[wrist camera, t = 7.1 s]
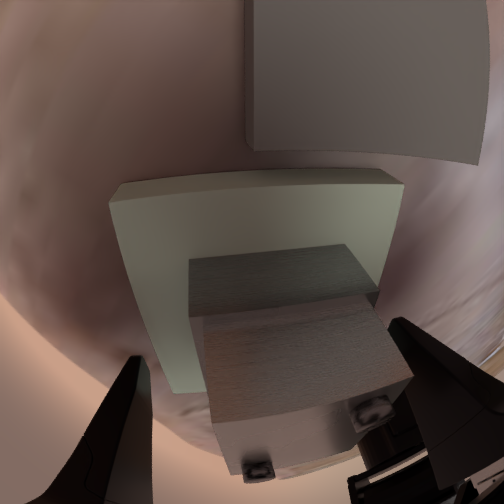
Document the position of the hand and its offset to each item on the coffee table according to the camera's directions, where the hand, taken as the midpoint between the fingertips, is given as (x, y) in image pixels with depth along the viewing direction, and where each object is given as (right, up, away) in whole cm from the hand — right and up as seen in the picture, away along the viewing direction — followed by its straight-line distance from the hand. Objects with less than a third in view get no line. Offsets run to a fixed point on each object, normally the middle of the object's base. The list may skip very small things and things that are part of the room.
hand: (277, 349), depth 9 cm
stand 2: (-1, +2, +2) cm, 3 cm away
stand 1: (+3, +11, -3) cm, 12 cm away
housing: (0, +1, +1) cm, 2 cm away
